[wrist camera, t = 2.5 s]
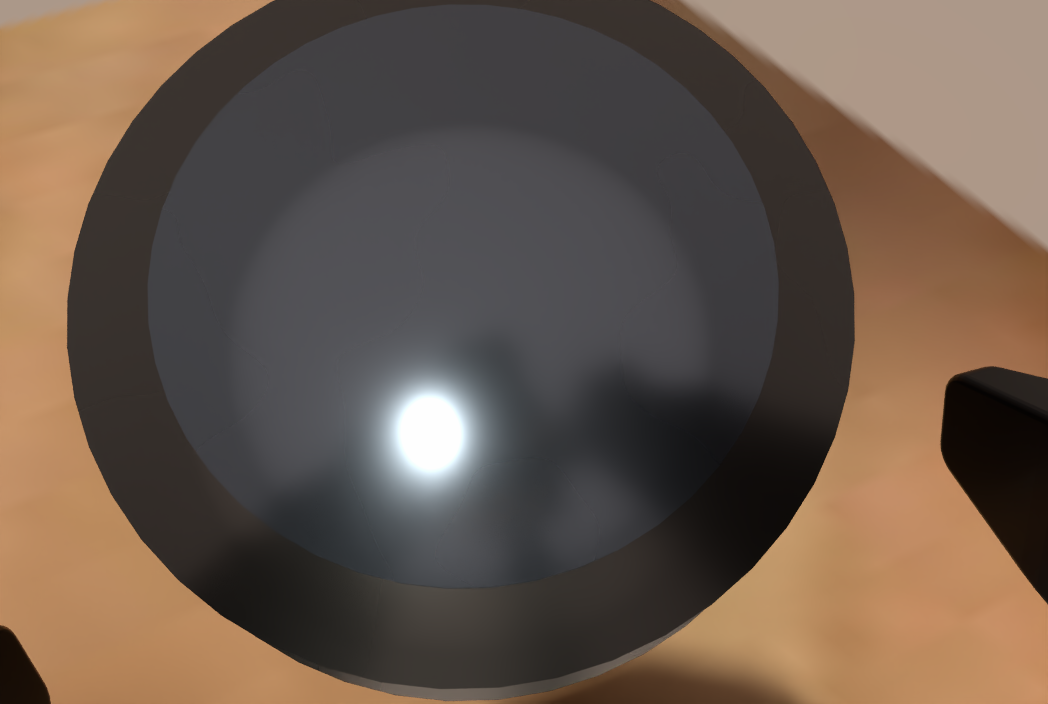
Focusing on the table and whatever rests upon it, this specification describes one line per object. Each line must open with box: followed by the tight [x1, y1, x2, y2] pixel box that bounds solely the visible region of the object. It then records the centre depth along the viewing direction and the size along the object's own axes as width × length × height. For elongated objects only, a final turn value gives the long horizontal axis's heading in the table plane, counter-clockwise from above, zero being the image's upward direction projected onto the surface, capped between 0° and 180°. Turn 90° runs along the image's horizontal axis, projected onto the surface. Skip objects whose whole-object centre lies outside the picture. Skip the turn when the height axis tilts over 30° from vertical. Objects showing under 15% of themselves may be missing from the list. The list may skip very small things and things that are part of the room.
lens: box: [67, 0, 855, 701], centre depth 12 cm, size 6×6×12 cm
